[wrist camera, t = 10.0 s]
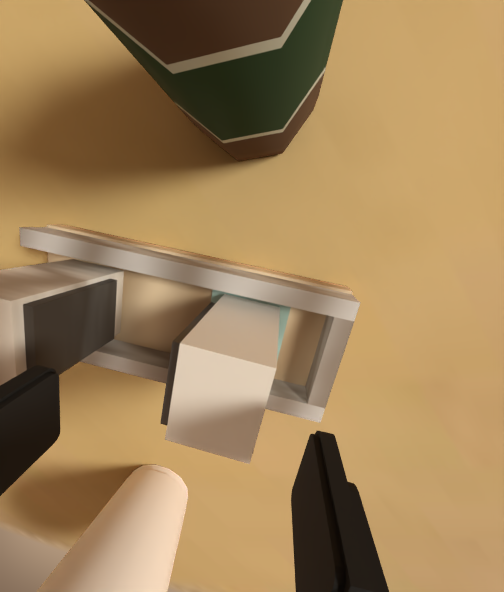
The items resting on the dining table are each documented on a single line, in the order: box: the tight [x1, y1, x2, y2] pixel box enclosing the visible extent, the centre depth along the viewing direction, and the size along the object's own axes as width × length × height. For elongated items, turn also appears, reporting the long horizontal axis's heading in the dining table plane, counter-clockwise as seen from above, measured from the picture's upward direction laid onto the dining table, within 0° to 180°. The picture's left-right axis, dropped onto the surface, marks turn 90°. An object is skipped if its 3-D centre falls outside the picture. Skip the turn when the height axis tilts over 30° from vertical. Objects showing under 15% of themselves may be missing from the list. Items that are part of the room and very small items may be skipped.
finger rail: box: [0, 224, 360, 423], centre depth 16 cm, size 22×9×10 cm, turn 79°
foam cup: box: [37, 465, 188, 592], centre depth 20 cm, size 10×9×13 cm
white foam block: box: [161, 294, 280, 464], centre depth 15 cm, size 4×5×8 cm
